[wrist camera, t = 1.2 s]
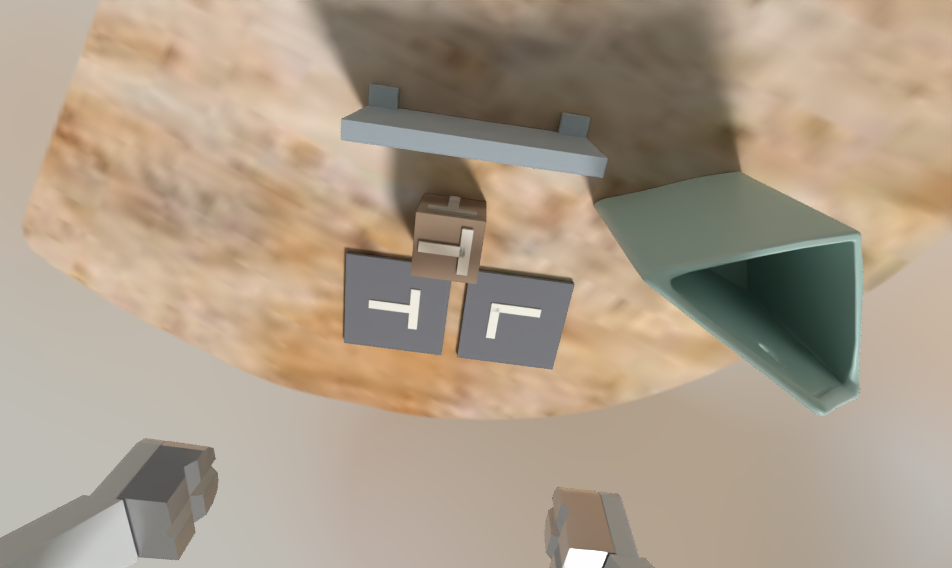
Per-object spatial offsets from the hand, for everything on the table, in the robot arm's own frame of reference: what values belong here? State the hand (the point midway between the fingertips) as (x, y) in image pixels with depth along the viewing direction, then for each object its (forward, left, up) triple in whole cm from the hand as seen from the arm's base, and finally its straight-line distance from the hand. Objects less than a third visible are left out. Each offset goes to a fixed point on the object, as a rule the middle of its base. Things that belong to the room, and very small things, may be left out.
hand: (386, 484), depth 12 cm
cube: (+4, 0, -29) cm, 30 cm away
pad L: (+12, +7, -29) cm, 32 cm away
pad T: (+12, -4, -29) cm, 32 cm away
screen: (-4, +1, -29) cm, 30 cm away
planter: (0, +20, -30) cm, 36 cm away
